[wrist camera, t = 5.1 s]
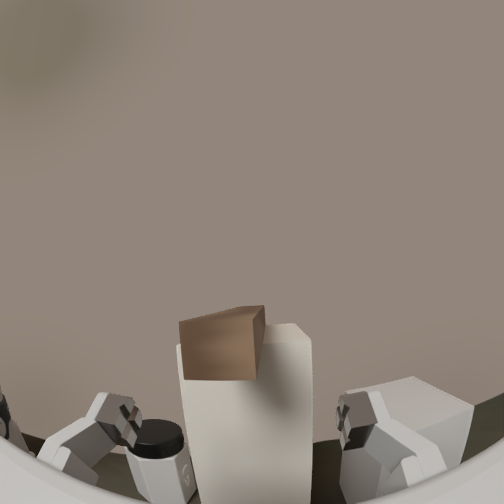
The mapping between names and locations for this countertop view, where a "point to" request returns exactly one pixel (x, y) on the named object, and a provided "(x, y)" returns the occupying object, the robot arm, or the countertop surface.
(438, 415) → the low stand
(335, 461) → the countertop surface
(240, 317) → the bar
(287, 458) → the tall stand
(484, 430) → the countertop surface
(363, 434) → the robot arm
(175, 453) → the jar
